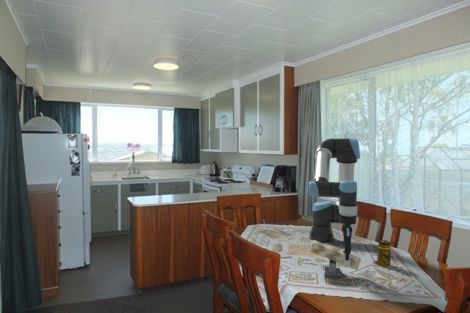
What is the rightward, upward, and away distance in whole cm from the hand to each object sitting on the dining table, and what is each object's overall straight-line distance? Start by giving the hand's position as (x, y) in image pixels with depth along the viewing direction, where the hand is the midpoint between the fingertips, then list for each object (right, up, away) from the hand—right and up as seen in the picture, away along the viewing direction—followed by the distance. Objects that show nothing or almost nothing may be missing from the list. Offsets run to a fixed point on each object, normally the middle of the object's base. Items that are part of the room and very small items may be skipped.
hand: (346, 264), depth 148 cm
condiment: (+22, -5, +14) cm, 27 cm away
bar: (-6, +2, +2) cm, 6 cm away
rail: (-6, -5, +2) cm, 8 cm away
